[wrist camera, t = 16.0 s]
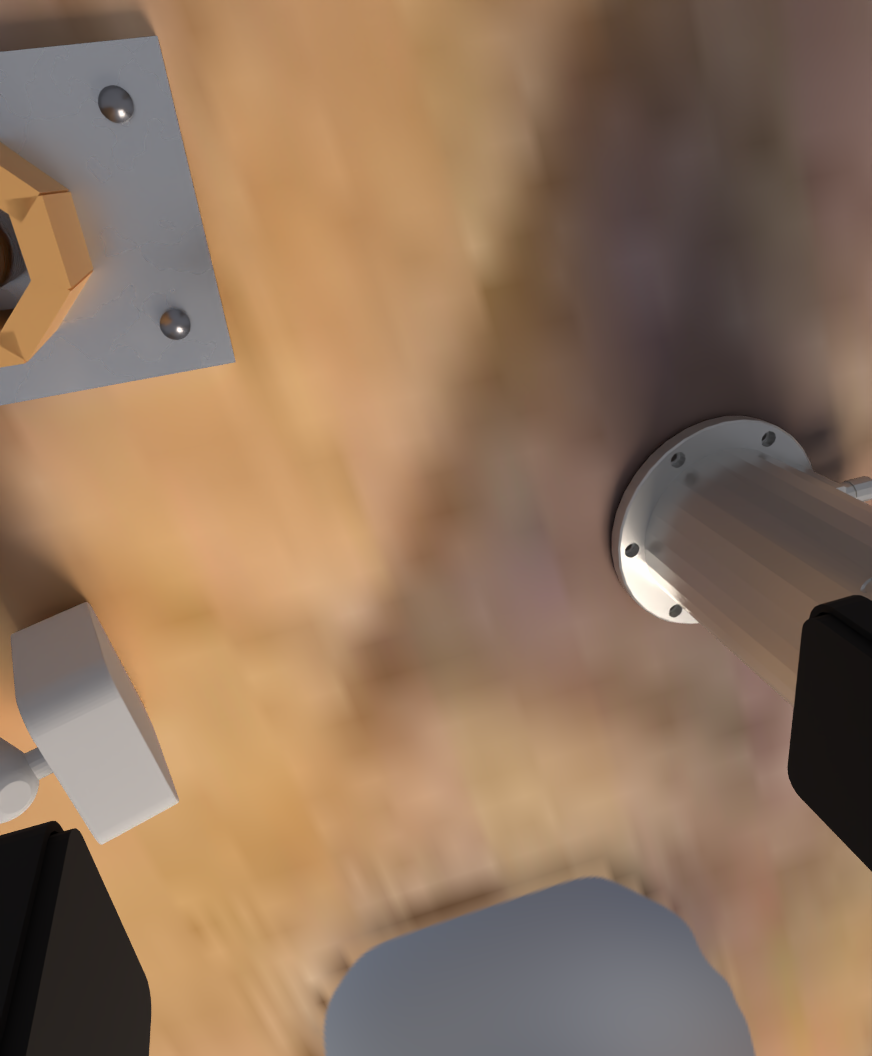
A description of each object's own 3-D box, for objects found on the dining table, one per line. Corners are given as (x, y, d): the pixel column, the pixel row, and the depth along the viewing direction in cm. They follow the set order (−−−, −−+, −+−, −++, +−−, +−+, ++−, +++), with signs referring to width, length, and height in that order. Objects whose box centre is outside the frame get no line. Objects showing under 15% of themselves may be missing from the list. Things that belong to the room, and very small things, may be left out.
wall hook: (-153, 675, 35) (-193, 813, 27) (79, 577, 38) (107, 671, 30) (-60, 801, 38) (-69, 955, 30) (144, 701, 42) (185, 815, 34)
